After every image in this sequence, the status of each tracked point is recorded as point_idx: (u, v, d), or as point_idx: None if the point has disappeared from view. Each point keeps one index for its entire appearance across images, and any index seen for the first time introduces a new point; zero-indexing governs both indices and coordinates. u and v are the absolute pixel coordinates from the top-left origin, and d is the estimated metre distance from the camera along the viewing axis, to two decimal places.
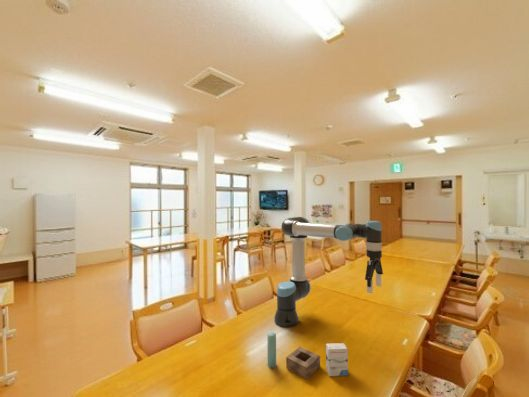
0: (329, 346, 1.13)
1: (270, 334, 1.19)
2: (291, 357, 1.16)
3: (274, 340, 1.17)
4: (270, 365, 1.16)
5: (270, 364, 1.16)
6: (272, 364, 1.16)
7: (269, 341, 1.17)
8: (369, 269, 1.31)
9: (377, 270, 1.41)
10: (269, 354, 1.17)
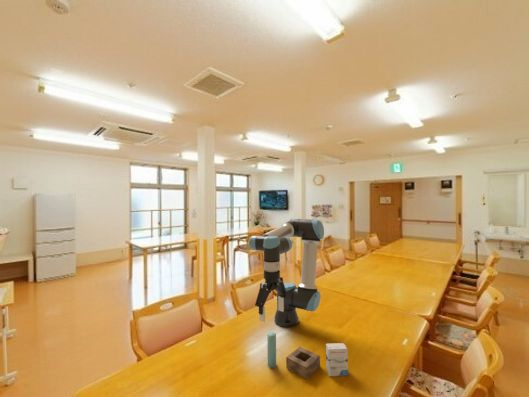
0: (329, 346, 1.13)
1: (270, 334, 1.19)
2: (291, 357, 1.16)
3: (274, 340, 1.17)
4: (270, 365, 1.16)
5: (270, 364, 1.16)
6: (272, 364, 1.16)
7: (269, 341, 1.17)
8: (260, 293, 1.12)
9: (279, 293, 1.23)
10: (269, 354, 1.17)
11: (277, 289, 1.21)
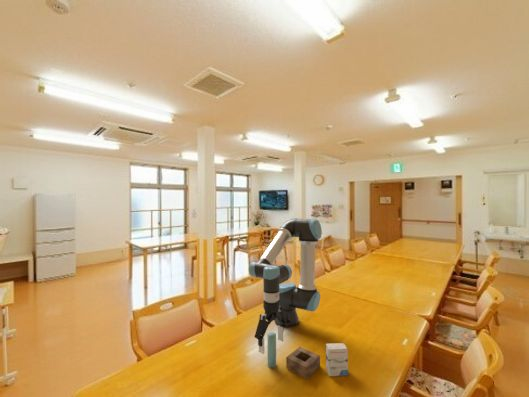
0: (329, 346, 1.13)
1: (270, 334, 1.19)
2: (291, 357, 1.16)
3: (274, 340, 1.17)
4: (270, 365, 1.16)
5: (270, 364, 1.16)
6: (272, 364, 1.16)
7: (269, 341, 1.17)
8: (260, 325, 1.12)
9: (278, 322, 1.22)
10: (269, 354, 1.17)
11: (277, 319, 1.20)
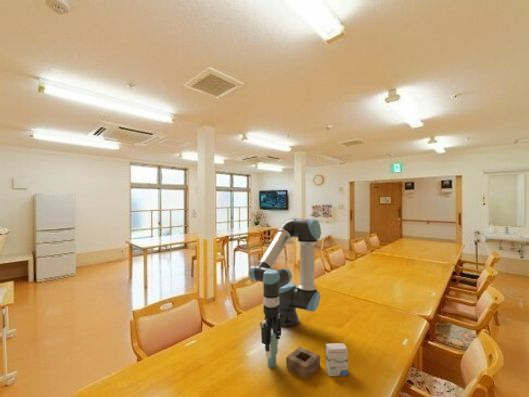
0: (329, 346, 1.13)
1: None
2: (291, 357, 1.16)
3: (274, 340, 1.17)
4: (270, 365, 1.16)
5: (270, 364, 1.16)
6: (272, 364, 1.16)
7: None
8: (263, 333, 1.14)
9: (274, 332, 1.20)
10: None
11: (274, 326, 1.19)
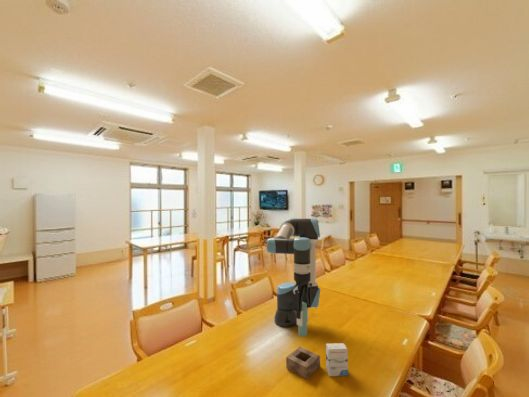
0: (329, 346, 1.13)
1: None
2: (291, 357, 1.16)
3: (305, 309, 1.15)
4: (301, 334, 1.14)
5: (301, 333, 1.14)
6: (303, 333, 1.14)
7: None
8: (295, 299, 1.12)
9: (304, 300, 1.18)
10: None
11: (305, 294, 1.17)
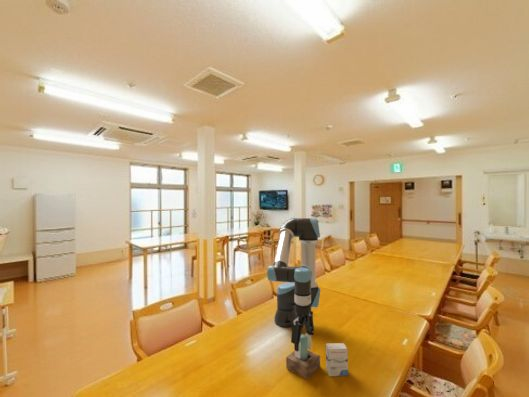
0: (329, 346, 1.13)
1: (301, 336, 1.17)
2: (291, 357, 1.16)
3: (306, 342, 1.15)
4: None
5: None
6: None
7: (301, 343, 1.15)
8: (294, 331, 1.11)
9: (307, 328, 1.19)
10: (301, 357, 1.15)
11: (306, 324, 1.18)
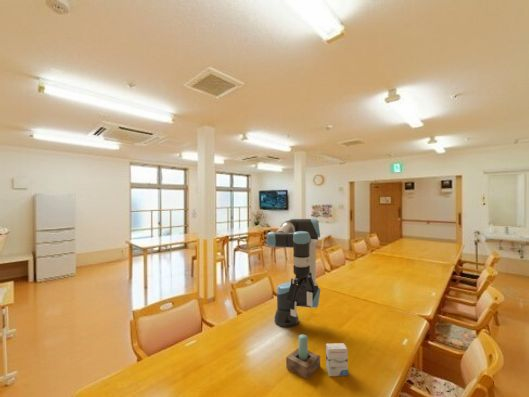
0: (329, 346, 1.13)
1: (301, 336, 1.17)
2: (291, 357, 1.16)
3: (306, 342, 1.15)
4: None
5: None
6: None
7: (301, 343, 1.15)
8: (292, 289, 1.12)
9: (308, 288, 1.22)
10: (301, 357, 1.15)
11: (306, 284, 1.20)
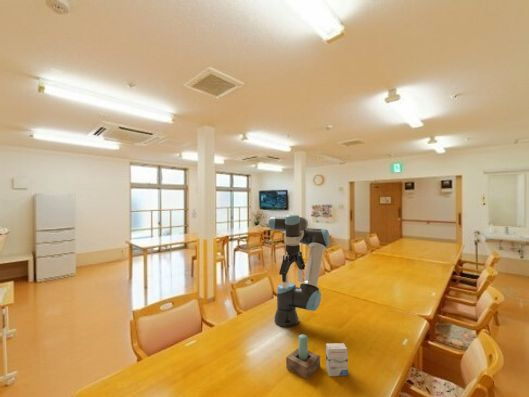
0: (329, 346, 1.13)
1: (301, 336, 1.17)
2: (291, 357, 1.16)
3: (306, 342, 1.15)
4: None
5: None
6: None
7: (301, 343, 1.15)
8: (284, 264, 1.28)
9: (298, 265, 1.39)
10: (301, 357, 1.15)
11: (297, 262, 1.37)
